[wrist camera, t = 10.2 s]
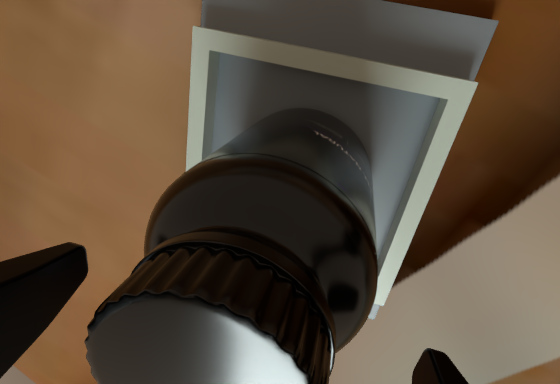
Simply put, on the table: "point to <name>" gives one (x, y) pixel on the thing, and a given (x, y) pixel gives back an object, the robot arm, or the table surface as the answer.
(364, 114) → the coaster tray
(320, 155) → the supplement bottle
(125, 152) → the table surface
